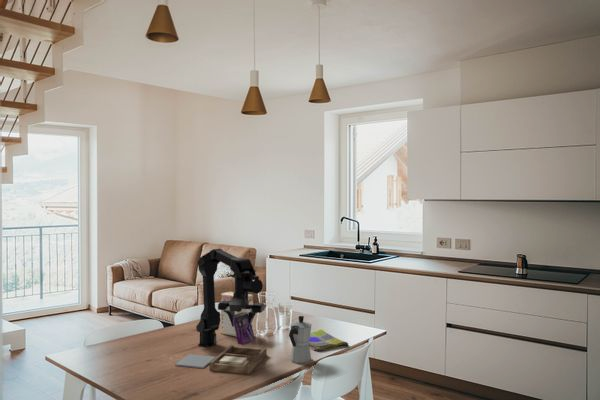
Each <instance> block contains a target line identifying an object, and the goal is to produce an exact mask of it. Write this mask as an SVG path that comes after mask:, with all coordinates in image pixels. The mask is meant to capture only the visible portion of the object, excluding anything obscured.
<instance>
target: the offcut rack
mask: <svg viewBox="0 0 600 400" xmlns="http://www.w3.org/2000/svg"><path fill="white" fill-rule="evenodd" d="M267 352H268V351H267V347H263V348H258V347H256V348H255V347H247V346H246V347H245V346H234V344H230V345H229V346H228V347H226V348H225V349H224V350H223V351H221V353H219V354H218V355H216V356H215V357H216V358H214V359H213V360H212V361H211V362H210V363H209V371H215V372H224V373H233V374H243V375H250V373H252V372H253V370H255V369H256V367H257V366H258V365H259V364H260V363H261V362H262V361H263V360H264V359H265V357H266V356H267ZM224 356H232V357H243V358H247V361H249V363H248V364H247V365H246V366H238V365H228V364H219V360H221V359H222V358H223V357H224Z"/></svg>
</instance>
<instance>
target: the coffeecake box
mask: <svg viewBox="0 0 600 400" xmlns="http://www.w3.org/2000/svg"><path fill="white" fill-rule="evenodd" d="M234 293H235V291H226V292H222V293H220V302H222V301H223V300H225V301H231V300H232V299H233V294H234ZM248 301H249V304H248V305H253V304H254V294H250V293H249V294H248ZM243 312H248V313H249V312H250V309H242V310H241V311H240V312H237V311H235V315H236V314H239V313H243ZM220 320H221V321H220V334H223V335H227V336H231V337H236V332H235V328H234V327H232V324H231V321H230V318H229V316H228V314H227V313H226V312H224V310H220ZM251 324H252V328H253V327H254V320H253V321H252V323H251ZM253 329H254V328H253Z"/></svg>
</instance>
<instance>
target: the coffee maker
mask: <svg viewBox="0 0 600 400" xmlns="http://www.w3.org/2000/svg"><path fill="white" fill-rule="evenodd" d="M304 318H305V317H304V316H303V315H299V316H298V322H293V323H291V325H290V330H289V334H288V337H289V340H290V342H291V344H292V346H291V347H292V348H291V354H290V361H291V363H293V364H294V363H295V364H308V363H310V362H312V356H311V349H310V347H309V343H308V342H309V340H310V333H312V332H311V331H312V330H311V329H312V324H311V323H309V322H307V321H306V322H305V321H304Z"/></svg>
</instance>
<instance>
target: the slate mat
mask: <svg viewBox="0 0 600 400" xmlns="http://www.w3.org/2000/svg"><path fill="white" fill-rule="evenodd" d="M216 357H217V356H211V355H201V354H193V353H192V354H190V353H189V354H187V355H185V357H183V358H181V359H180V360H179V361H177V362H176V363H174V366H175V367H185V368H194V369H195V368H196V369H204V368H206V367H208V365H210V362H211V361H212V360H213V359H214V358H216Z"/></svg>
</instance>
